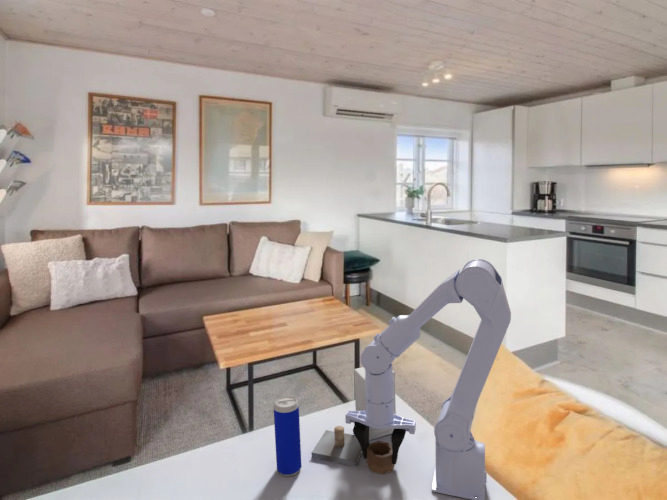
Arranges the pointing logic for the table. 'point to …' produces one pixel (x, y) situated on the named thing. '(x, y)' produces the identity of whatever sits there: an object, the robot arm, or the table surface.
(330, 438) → the dowel stand
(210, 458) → the table surface
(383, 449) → the walnut ring
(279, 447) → the beverage can
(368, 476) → the table surface
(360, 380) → the skincare box
